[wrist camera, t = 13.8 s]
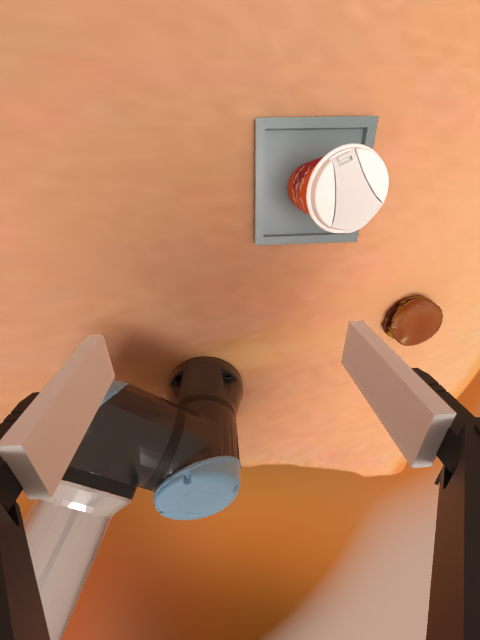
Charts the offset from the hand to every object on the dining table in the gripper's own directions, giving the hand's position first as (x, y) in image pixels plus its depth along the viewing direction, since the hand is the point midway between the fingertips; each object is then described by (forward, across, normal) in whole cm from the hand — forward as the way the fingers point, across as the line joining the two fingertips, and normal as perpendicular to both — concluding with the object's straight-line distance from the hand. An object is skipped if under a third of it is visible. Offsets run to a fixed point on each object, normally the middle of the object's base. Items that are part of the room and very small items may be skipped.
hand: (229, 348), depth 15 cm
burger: (+32, +34, -16) cm, 50 cm away
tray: (+32, +13, +7) cm, 35 cm away
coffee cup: (+31, +13, +7) cm, 34 cm away
